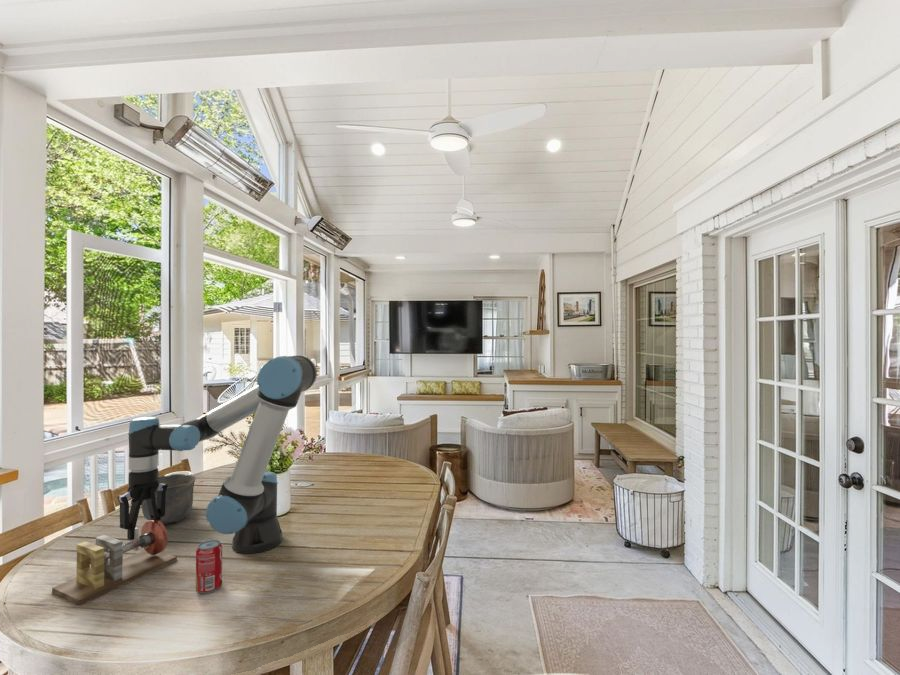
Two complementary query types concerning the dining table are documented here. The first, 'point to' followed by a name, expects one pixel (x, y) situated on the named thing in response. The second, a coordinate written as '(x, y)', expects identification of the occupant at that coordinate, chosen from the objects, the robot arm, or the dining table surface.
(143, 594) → the dining table surface
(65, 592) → the board
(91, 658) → the dining table surface
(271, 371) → the robot arm
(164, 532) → the red knob rod
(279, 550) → the dining table surface
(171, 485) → the grey plant pot
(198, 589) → the soda can
